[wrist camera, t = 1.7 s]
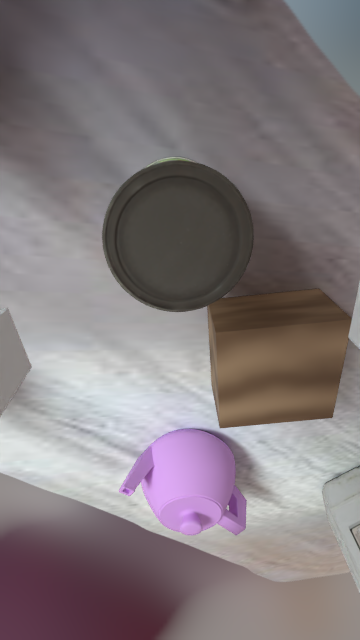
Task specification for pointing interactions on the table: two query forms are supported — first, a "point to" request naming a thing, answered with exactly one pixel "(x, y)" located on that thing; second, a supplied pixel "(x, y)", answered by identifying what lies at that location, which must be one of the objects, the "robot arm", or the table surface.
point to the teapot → (189, 482)
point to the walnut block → (276, 356)
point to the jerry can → (345, 517)
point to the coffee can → (177, 235)
